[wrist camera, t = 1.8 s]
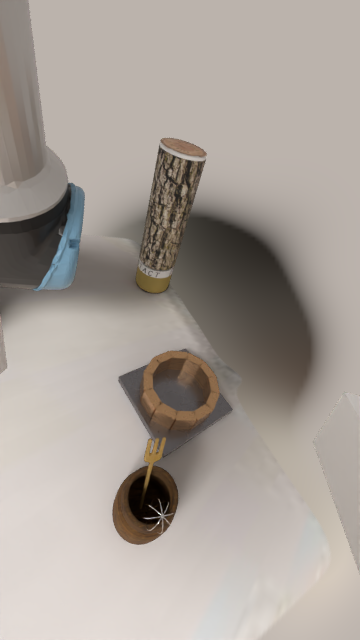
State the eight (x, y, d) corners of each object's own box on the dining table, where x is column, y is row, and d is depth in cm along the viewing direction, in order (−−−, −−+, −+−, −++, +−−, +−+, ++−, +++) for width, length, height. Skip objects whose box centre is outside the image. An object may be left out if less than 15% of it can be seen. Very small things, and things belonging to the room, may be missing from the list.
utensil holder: (112, 552, 27) (127, 538, 18) (110, 480, 31) (122, 441, 22) (170, 539, 28) (208, 520, 20) (162, 472, 33) (190, 434, 24)
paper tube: (152, 269, 59) (182, 138, 42) (174, 287, 57) (216, 156, 39) (128, 279, 55) (150, 137, 38) (150, 299, 53) (185, 158, 35)
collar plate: (118, 380, 39) (121, 364, 36) (183, 352, 46) (190, 337, 43) (163, 457, 34) (170, 446, 31) (230, 412, 40) (241, 399, 38)
